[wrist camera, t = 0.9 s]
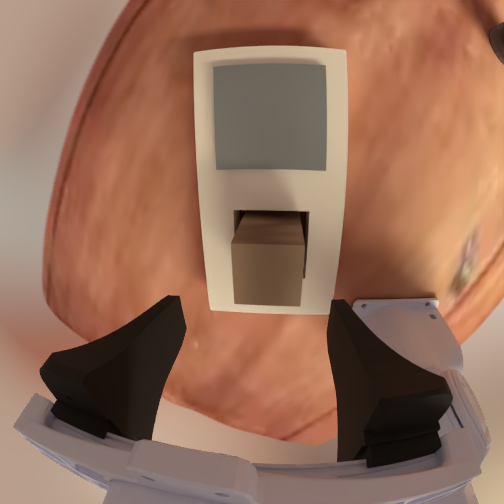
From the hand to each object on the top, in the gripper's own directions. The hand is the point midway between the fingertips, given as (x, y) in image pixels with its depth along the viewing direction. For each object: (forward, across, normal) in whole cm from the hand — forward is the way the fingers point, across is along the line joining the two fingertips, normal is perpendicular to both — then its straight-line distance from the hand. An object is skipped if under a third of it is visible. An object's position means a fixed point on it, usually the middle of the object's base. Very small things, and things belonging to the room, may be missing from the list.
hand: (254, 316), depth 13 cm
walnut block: (+10, 0, 0) cm, 10 cm away
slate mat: (+8, -1, -9) cm, 12 cm away
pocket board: (+10, 0, -4) cm, 11 cm away
